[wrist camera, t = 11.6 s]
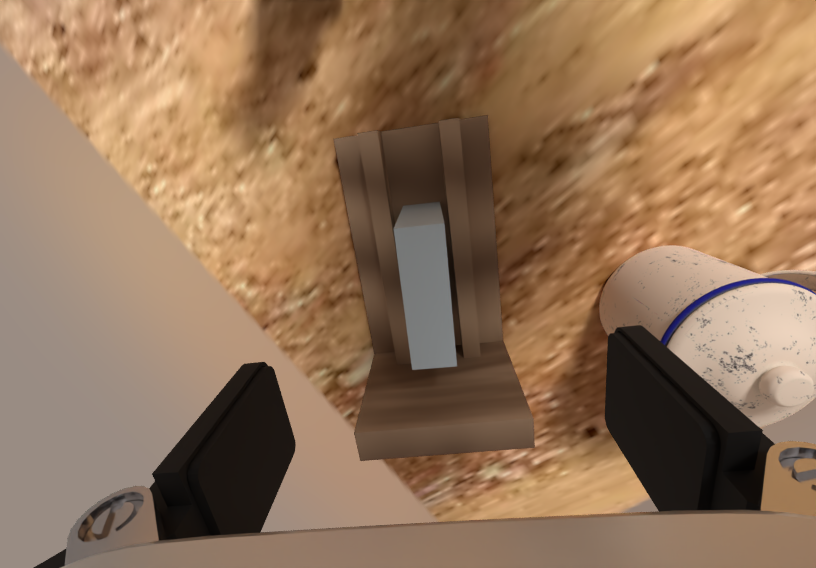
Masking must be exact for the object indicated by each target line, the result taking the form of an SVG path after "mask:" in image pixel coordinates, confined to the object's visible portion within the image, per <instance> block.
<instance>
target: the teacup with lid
mask: <svg viewBox="0 0 816 568" xmlns="http://www.w3.org/2000/svg"><path fill="white" fill-rule="evenodd" d="M811 290H813V291H816V271H807V270H781V271H773V272H767V273H763V274H757V273H754V272H752V271H749V270H747V269H744V268H741V267H739V266H736V265H733V264H731V263H728V262H726V261H723V260H720V259H718V258H715V257H713V256H710V255H707V254H705V253H702V252H699V251H697V250H694V249H691V248H688V247H683V246H674V245H670V246H660V247H655V248H651V249H648V250H645V251H642V252H640V253H638V254H636V255H634V256H633V257H631V258H629V259H628V260H626V261H625V262H624V263H623V264H621V265H620V266H619V267H618V268H617V269H616V270H615V271H614V273H613V274H612V275H611V276H610V278H609V279H608V281H607V283H606V284H605V287H604V289H603V291H602V294H601V298H600V304H599V314H600V320H601V323H602V326H603V328H604V330H605V332H606V333H607V335H608V336H609V334H610V333H614V332H615V329H616V328H617V327H625V326H635V325H641V326H643V327H644V328H645V329H647V330H648V331H649V332H650V333H651V334H652V335H654V336H655V337H656V338H657V339H658V340H659V341H660V342H662V343H663V344H664V345H665V346H666V347H667V348H668V349H670V350H671V351H672V352H673V353H674V354H675V355H677V356H678V357H679V358H680V359H681V360H682V361H683V362H685V363H686V364H687V365H688V366H689V367H690V368H691V369H693V370H694V371H695V372H696V373H697V374H698V375H700V376H701V377H702V378H703V379H704V380H705V381H706V382H708V383H709V384H710V385H711V386H712V387H713V388H714V389H716V390H717V391H718V392H719V393H720V394H721V395H723V396H724V397H725V398H726V399H727V400H728V401H729V402H731V403H732V404H733V405H734V406H735V407H736V408H737V409H739V410H740V411H741V412H742V413H743V414H744V415H746V416H747V417H748V418H749V419H750V420H751V421H752V422H754V423H755V424H756V425H757V426H758V427H763V426H766V425H770V424H772V423H775V422H778V421H780V420H782V419H785V418H787V417H788V416H791V415H792V414H794V413H796V412H797V411H799V410H800V409H802V408H803V407H805V406H806V405H807V404H808V403H810V402H811V401H812V400H813V399H814V398H815V397H816V293H814V292H813V291H811Z"/></svg>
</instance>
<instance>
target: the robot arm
mask: <svg viewBox="0 0 816 568" xmlns="http://www.w3.org/2000/svg"><path fill="white" fill-rule="evenodd" d="M605 421H606V425H607V428H608V430H609V432H610V433H611V435H612V436H613V438H614V440H615V441H616V443H617V444H618V446H619V448H620V449H621V451H622V453H623V454H624V456H625V457H626V459H627V461H628V462H629V464H630V465H631V467H632V469H633V470H634V472H635V474H636V475H637V477H638V478H639V480H640V482H641V483H642V485H643V486H644V488H645V490H646V491H647V493H648V494H649V496H650V498H651V499H652V501H653V503H654V504H655V506H656V507H657V509H658V511H659V512H636V513H611V514H590V515H569V516H549V517H528V518H507V519H488V520H469V521H450V522H432V523H415V524H396V525H378V526H360V527H343V528H328V529H311V530H295V531H278V532H261V530H262V527H263V525H264V522H265V520H266V518H267V516H268V513H269V511H270V509H271V506H272V504H273V502H274V499H275V497H276V495H277V492H278V490H279V488H280V485H281V483H282V481H283V478H284V476H285V474H286V471H287V469H288V466H289V464H290V462H291V460H292V457H293V455H294V452H295V439H294V435H293V432H292V428H291V425H290V422H289V418H288V415H287V412H286V408H285V405H284V402H283V398H282V395H281V391H280V388H279V385H278V381H277V378H276V375H275V371H274V369H273V368H272V367H271V366H268V365H267V364H266V363H265V362H258V363H248V364H244V365H242V366H241V367H240V369H239V370H238V371H237V372H236V374H235V375H234V376H233V377H232V378H231V379H230V381H229V382H228V383H227V384H226V386H225V387H224V388H223V389H222V390H221V392H220V393H219V394H218V395H217V396H216V398H215V399H214V400H213V401H212V402H211V404H210V405H209V406H208V407H207V408H206V410H205V411H204V412H203V413H202V414H201V416H200V417H199V418H198V419H197V421H196V422H195V423H194V424H193V425H192V426H191V428H190V429H189V430H188V431H187V432H186V434H185V435H184V436H183V437H182V439H181V440H180V441H179V442H178V443H177V445H176V446H175V447H174V448H173V449H172V451H171V452H170V453H169V454H168V455H167V457H166V458H165V459H164V460H163V461H162V463H161V464H160V465H159V466H158V467H157V469H156V470H155V471H154V472H153V473H152V475H153V477H154V479H155V482H154V483H153V485H152V486H151V487H150V488H146V487H144V486H133V487H128V488H124V489H122V490H119V491H117V492H114V493H112V494H110V495H109V496H107V497H105V498H104V499H102V500H100V501H98V502H97V503H96V504H95V505H93V506H92V507H91V508H89V509H88V510H87V511H86V512H85V513H84V514H83V515H82V516H81V517H80V518H79V519H78V520H77V521H76V523H75V525H74V526H73V527H72V528H71V530H70V533H69V536H68V541H67V548H66V549H65V550H63V551H62V552H60V553H58V554H56V555H55V556H53V557H51V558H50V559H48V560H46V561H45V562H43V563H41V564H39V565H37V566H36V567H34V568H816V445H815V444H811V443H806V442H796V441H788V442H780V443H777V444H774V443H773V442H772V441H771V440H770V439H769V438H767V437H766V436H765V435H764V434H763V433H762V431H763V430H762V429H761V428H759V427H758V426H757V425H756V424H755V423H754V422H752V421H751V420H750V419H749V418H748V417H747V416H746V415H744V414H743V413H742V412H741V411H740V410H739V409H737V408H736V407H735V406H734V405H733V404H732V403H731V402H729V401H728V400H727V399H726V398H725V397H724V396H723V395H721V394H720V393H719V392H718V391H717V390H716V389H714V388H713V387H712V386H711V385H710V384H709V383H708V382H706V381H705V380H704V379H703V378H702V377H701V376H700V375H698V374H697V373H696V372H695V371H694V370H693V369H691V368H690V367H689V366H688V365H687V364H686V363H685V362H683V361H682V360H681V359H680V358H679V357H678V356H677V355H675V354H674V353H673V352H672V351H671V350H670V349H668V348H667V347H666V346H665V345H664V344H663V343H662V342H660V341H659V340H658V339H657V338H656V337H655V336H654V335H652V334H651V333H650V332H649V331H648V330H647V329H645V328H644V327H643V326H641V325H635V326H625V327H617V328H616V329H615V332H614V333H610V334H609V336H608V352H607V377H606V401H605ZM260 532H261V533H260Z"/></svg>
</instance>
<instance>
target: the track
mask: <svg viewBox="0 0 816 568" xmlns="http://www.w3.org/2000/svg"><path fill="white" fill-rule="evenodd" d="M334 144H335V149H336V154H337V159H338V165H339V170H340V175H341V180H342V186H343V191H344V196H345V201H346V207H347V212H348V217H349V222H350V228H351V233H352V238H353V243H354V249H355V254H356V259H357V264H358V270H359V275H360V280H361V285H362V291H363V296H364V301H365V306H366V312H367V317H368V322H369V327H370V333H371V338H372V343H373V348H374V358H373V362H372V366H371V370H370V373H369V377H368V381H367V385H366V389H365V393H364V397H363V401H362V405H361V408H360V412H359V416H358V420H357V424H356V428H355V432H354V435H355V438H356V443H357V448H358V452H359V457H360V460H361V461H365V460H379V459H392V458H405V457H418V456H431V455H444V454H457V453H470V452H483V451H496V450H509V449H522V448H535V445H534V421H533V416H532V413H531V411H530V408H529V406H528V403H527V401H526V398H525V396H524V393H523V390H522V388H521V385H520V383H519V380H518V378H517V375H516V373H515V370H514V367H513V365H512V362H511V360H510V357H509V355H508V352H507V350H506V347H505V344H504V342H503V333H502V318H501V303H500V289H499V274H498V259H497V245H496V230H495V216H494V201H493V186H492V172H491V157H490V142H489V128H488V115H485V116H479V117H472V118H466V119H459V118H453V119H447V120H441V121H438V123H434V124H427V125H421V126H414V127H408V128H401V129H395V130H388V131H382V132H381V131H378V130H376V131H370V132H363V133H358V135H356V136H349V137H343V138H336V139H334ZM432 202H440V206H441V210H442V215H443V219H444V224H445V235H446V247H447V258H448V269H449V281H450V292H451V303H452V314H453V326H454V337H455V348H456V360H457V366H456V367H443V368H430V369H417V370H412V365H411V357H410V349H409V342H408V334H407V327H406V319H405V312H404V304H403V296H402V289H401V281H400V274H399V266H398V259H397V251H396V243H395V236H394V226H395V224H396V222H397V219H398V217H399V215H400V212H401V210H402V207H403V206H406V205H414V204H423V203H432Z"/></svg>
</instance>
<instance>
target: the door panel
mask: <svg viewBox="0 0 816 568" xmlns="http://www.w3.org/2000/svg"><path fill="white" fill-rule="evenodd" d="M394 236H395V243H396V251H397V259H398V266H399V274H400V281H401V289H402V296H403V304H404V312H405V319H406V327H407V334H408V342H409V349H410V357H411V365H412V370H417V369H430V368H443V367H456V366H457V360H456V348H455V337H454V326H453V314H452V303H451V292H450V281H449V269H448V258H447V247H446V235H445V224H444V219H443V215H442V210H441V206H440V202H432V203H423V204H414V205H406V206H403V207H402V210H401V212H400V215H399V217H398V219H397V222H396V224H395V226H394Z"/></svg>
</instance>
